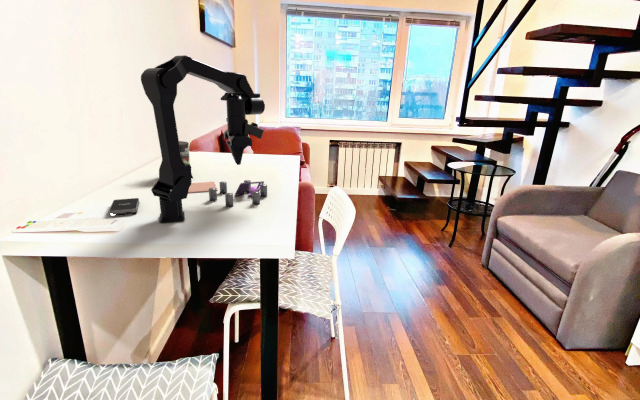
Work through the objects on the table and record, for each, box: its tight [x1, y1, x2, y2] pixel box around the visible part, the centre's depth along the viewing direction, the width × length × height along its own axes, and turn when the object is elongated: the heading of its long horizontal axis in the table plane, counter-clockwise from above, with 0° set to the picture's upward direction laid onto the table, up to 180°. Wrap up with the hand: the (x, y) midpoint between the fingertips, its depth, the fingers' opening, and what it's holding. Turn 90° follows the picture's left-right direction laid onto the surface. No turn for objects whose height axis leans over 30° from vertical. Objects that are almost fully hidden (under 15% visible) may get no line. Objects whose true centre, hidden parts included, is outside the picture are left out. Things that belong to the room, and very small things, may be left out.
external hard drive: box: [108, 197, 140, 216], centre depth 104 cm, size 7×11×2 cm, turn 23°
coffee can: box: [179, 140, 191, 165], centre depth 140 cm, size 10×10×14 cm
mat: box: [188, 181, 218, 194], centre depth 128 cm, size 12×10×1 cm
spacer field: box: [208, 179, 268, 208], centre depth 118 cm, size 17×19×4 cm
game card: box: [234, 180, 265, 197], centre depth 121 cm, size 7×5×9 cm
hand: (238, 163), depth 115 cm, fingers closed
